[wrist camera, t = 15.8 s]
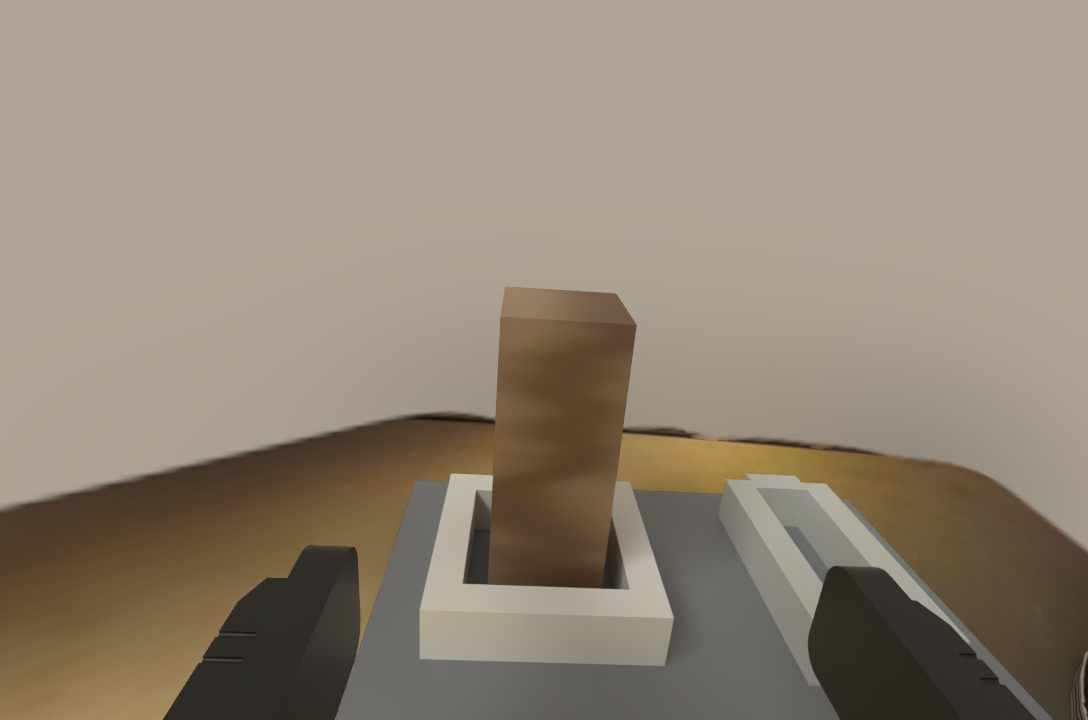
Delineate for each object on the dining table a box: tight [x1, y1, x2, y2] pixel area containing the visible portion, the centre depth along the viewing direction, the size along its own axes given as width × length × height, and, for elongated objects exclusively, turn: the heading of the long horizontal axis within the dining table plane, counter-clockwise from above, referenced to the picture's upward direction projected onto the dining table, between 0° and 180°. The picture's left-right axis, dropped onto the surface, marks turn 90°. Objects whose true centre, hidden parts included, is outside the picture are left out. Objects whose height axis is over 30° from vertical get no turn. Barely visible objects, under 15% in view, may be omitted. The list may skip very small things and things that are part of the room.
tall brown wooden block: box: [488, 287, 636, 589], centre depth 20 cm, size 4×4×11 cm
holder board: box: [336, 474, 1053, 720], centre depth 22 cm, size 22×13×3 cm, turn 92°
